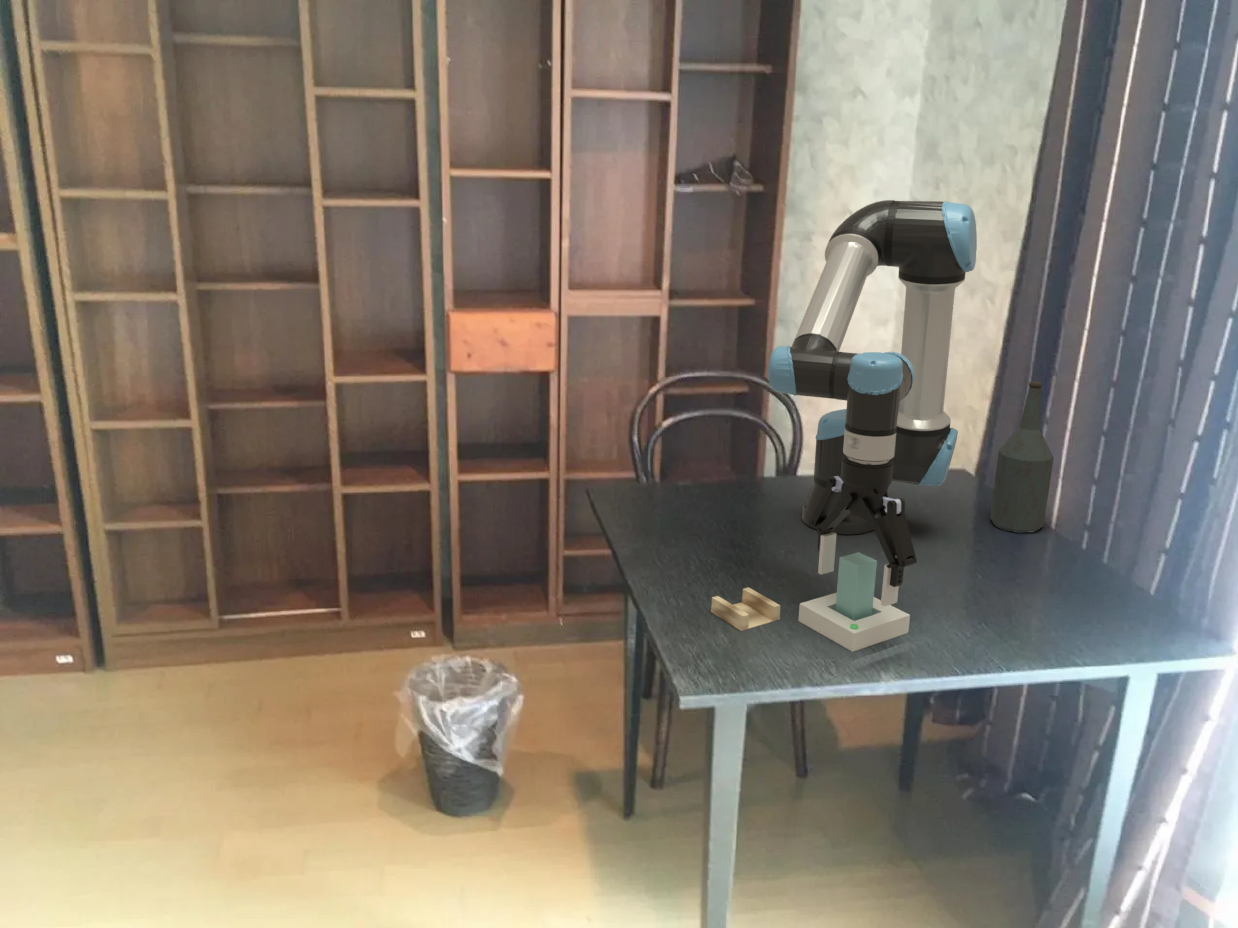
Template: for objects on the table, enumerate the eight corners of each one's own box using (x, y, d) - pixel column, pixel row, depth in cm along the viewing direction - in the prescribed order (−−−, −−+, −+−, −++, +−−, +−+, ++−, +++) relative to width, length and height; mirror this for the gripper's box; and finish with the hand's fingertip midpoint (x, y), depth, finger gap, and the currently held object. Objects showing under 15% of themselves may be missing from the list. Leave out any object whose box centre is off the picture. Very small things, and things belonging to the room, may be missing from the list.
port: (797, 629, 164) (799, 601, 162) (852, 611, 170) (854, 585, 168) (851, 660, 154) (854, 631, 152) (907, 640, 160) (910, 613, 159)
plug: (833, 627, 162) (839, 557, 158) (852, 621, 164) (858, 552, 160) (851, 637, 159) (858, 566, 155) (870, 631, 161) (877, 560, 157)
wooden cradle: (709, 619, 166) (710, 597, 165) (748, 608, 171) (749, 587, 169) (740, 639, 160) (742, 616, 159) (779, 627, 164) (781, 605, 163)
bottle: (1047, 536, 204) (1069, 389, 194) (995, 532, 205) (1015, 386, 196) (1035, 517, 213) (1055, 377, 204) (986, 514, 215) (1004, 375, 206)
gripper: (792, 440, 161) (784, 564, 167) (914, 484, 141) (899, 624, 147) (828, 433, 165) (818, 555, 171) (951, 476, 145) (935, 612, 151)
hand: (856, 587), depth 159 cm, fingers open, 13 cm apart
